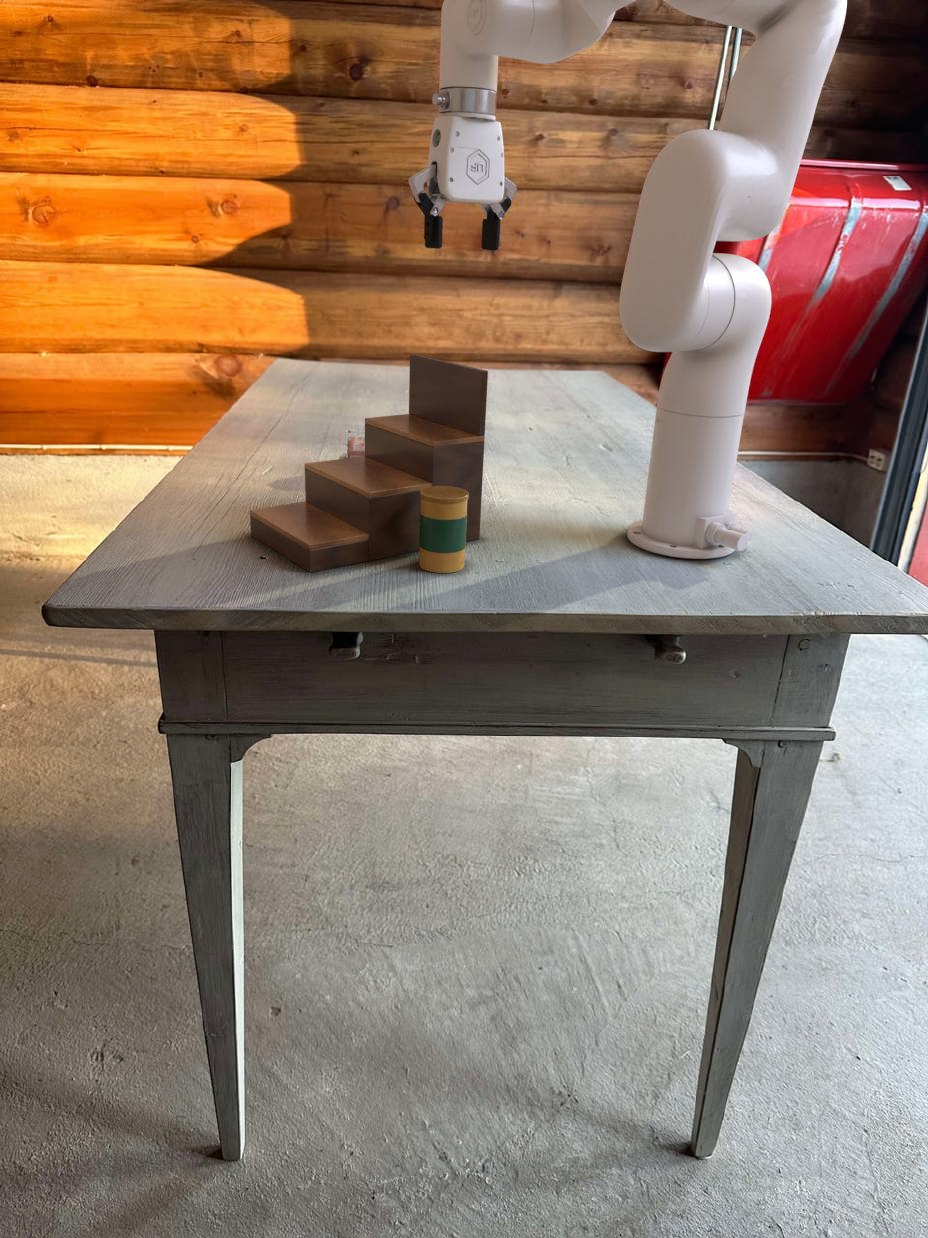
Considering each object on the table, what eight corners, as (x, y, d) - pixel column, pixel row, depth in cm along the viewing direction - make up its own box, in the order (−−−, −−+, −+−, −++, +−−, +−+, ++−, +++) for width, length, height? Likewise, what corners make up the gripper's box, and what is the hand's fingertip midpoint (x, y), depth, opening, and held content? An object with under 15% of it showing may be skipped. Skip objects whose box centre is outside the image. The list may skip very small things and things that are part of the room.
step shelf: (309, 572, 93) (305, 383, 85) (250, 535, 103) (241, 362, 96) (479, 538, 105) (488, 370, 98) (411, 508, 116) (415, 353, 108)
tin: (474, 568, 96) (478, 494, 93) (436, 576, 94) (438, 501, 90) (446, 554, 100) (449, 483, 97) (409, 562, 97) (410, 489, 94)
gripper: (428, 97, 111) (425, 248, 118) (536, 112, 121) (527, 251, 128) (396, 102, 117) (394, 246, 124) (501, 116, 127) (494, 249, 133)
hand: (462, 248), depth 126 cm, fingers open, 9 cm apart
